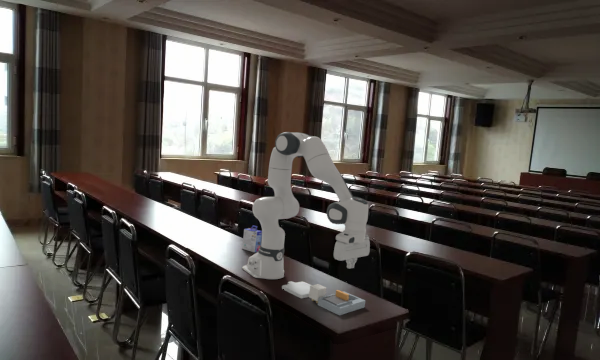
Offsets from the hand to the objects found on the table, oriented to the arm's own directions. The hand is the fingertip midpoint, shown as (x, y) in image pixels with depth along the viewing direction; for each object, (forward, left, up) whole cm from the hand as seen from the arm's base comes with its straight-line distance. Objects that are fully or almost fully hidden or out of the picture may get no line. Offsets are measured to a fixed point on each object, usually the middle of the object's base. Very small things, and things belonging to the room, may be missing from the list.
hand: (350, 267), depth 184 cm
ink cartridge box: (-84, +14, -17) cm, 87 cm away
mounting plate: (-21, -6, -17) cm, 27 cm away
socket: (0, -3, -16) cm, 17 cm away
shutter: (0, -7, -13) cm, 15 cm away
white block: (-9, -9, -16) cm, 20 cm away
